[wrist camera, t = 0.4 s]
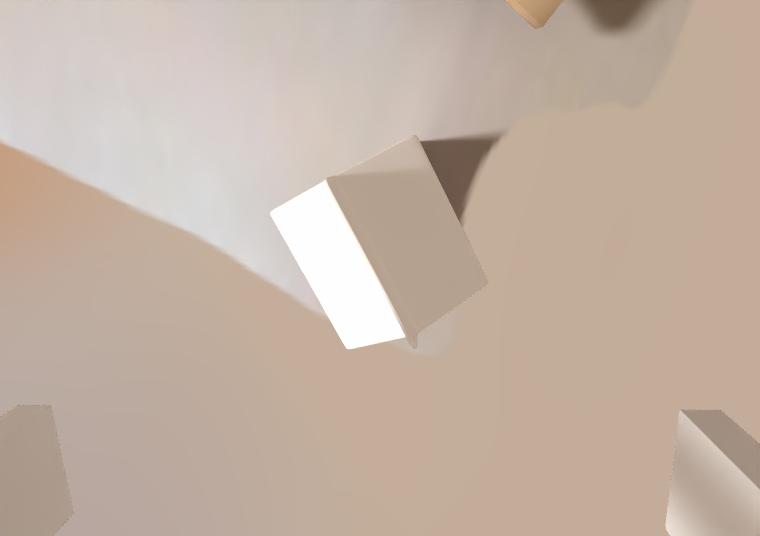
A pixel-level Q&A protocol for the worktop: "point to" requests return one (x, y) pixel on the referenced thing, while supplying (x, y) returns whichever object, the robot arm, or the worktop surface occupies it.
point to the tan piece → (535, 10)
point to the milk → (382, 247)
